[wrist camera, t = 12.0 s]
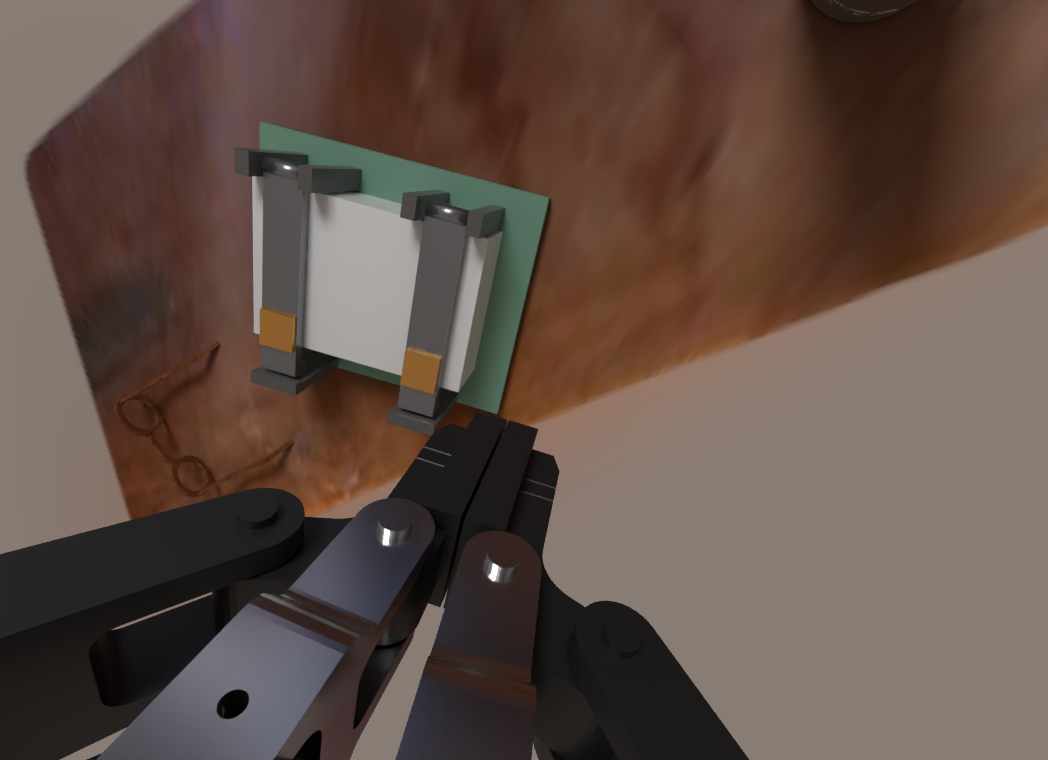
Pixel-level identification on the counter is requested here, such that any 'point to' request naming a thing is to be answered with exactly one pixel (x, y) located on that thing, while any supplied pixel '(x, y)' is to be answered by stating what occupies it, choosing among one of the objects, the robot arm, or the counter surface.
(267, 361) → the strap
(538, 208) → the base
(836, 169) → the counter surface
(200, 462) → the glasses
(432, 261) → the strap
